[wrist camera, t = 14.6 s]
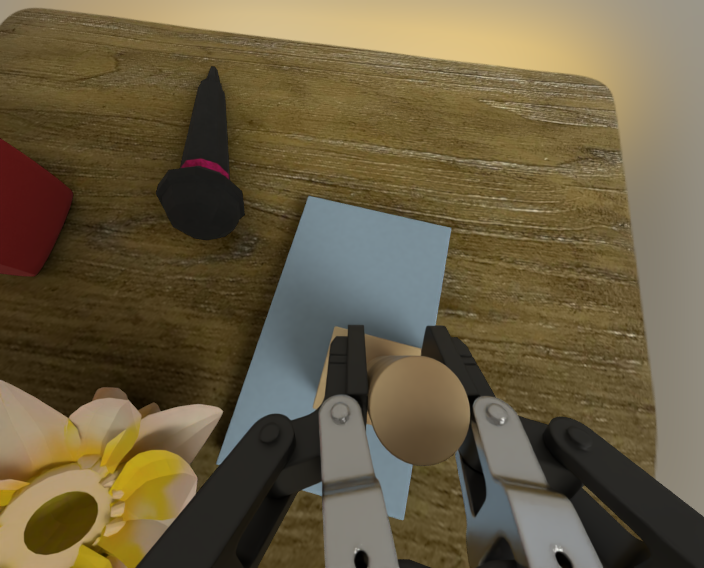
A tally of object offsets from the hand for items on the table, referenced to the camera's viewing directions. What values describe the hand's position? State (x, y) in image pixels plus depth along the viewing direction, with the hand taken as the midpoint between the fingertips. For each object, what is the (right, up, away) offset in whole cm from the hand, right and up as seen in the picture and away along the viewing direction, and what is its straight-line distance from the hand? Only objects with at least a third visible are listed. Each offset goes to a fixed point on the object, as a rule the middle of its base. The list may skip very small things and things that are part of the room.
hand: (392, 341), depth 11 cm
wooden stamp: (0, -4, +6) cm, 7 cm away
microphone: (-13, +14, +12) cm, 23 cm away
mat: (-2, -1, +8) cm, 8 cm away
